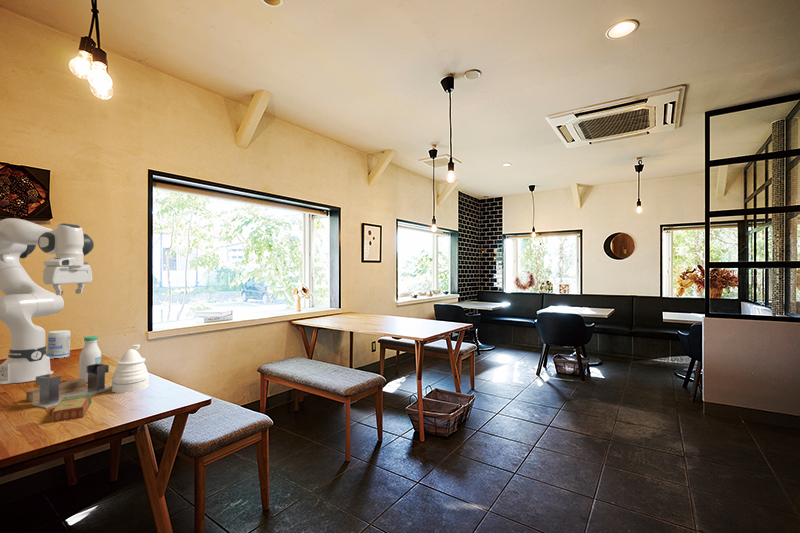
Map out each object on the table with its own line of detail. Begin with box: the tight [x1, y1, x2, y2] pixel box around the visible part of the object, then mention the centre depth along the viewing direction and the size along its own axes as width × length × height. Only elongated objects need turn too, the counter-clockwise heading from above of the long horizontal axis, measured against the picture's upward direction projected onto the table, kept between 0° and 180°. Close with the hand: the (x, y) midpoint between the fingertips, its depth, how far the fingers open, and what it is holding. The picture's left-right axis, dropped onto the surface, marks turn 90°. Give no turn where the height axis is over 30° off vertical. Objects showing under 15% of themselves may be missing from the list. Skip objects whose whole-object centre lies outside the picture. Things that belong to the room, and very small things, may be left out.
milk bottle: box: [78, 335, 102, 384], centre depth 167 cm, size 8×8×20 cm
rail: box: [25, 377, 87, 403], centre depth 149 cm, size 4×18×4 cm, turn 162°
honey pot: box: [111, 344, 150, 394], centre depth 158 cm, size 13×13×18 cm
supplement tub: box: [46, 329, 72, 360], centre depth 208 cm, size 10×10×15 cm
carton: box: [51, 394, 92, 423], centre depth 131 cm, size 8×16×4 cm, turn 33°
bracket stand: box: [31, 363, 111, 409], centre depth 146 cm, size 8×22×10 cm, turn 161°
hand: (69, 294), depth 156 cm, fingers open, 8 cm apart
